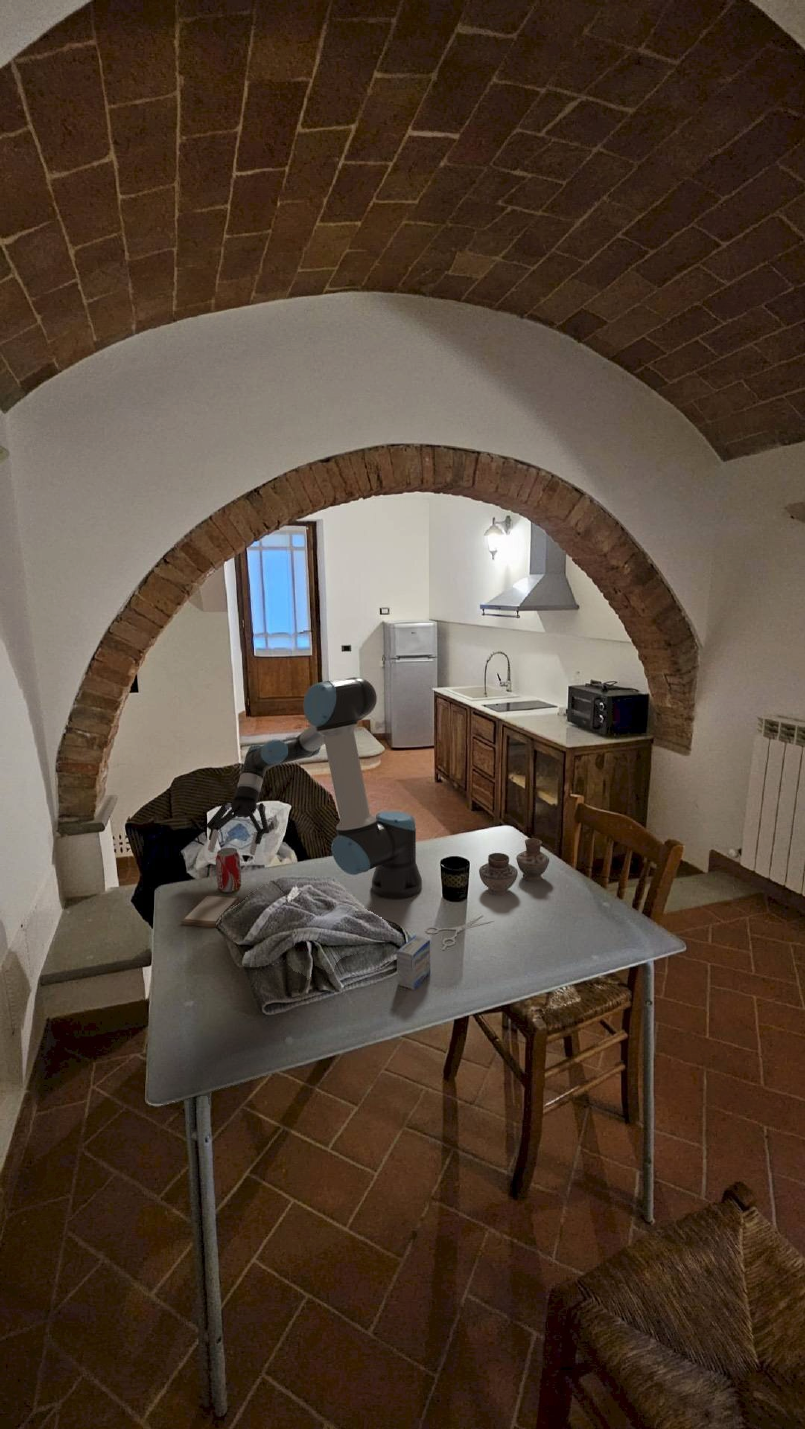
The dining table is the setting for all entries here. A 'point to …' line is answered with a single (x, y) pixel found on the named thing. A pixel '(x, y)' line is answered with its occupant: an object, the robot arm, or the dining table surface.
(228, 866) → the soda can
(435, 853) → the dining table surface
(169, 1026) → the dining table surface
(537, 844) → the pottery
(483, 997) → the dining table surface
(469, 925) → the scissors
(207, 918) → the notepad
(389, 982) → the dining table surface
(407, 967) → the medicine box
